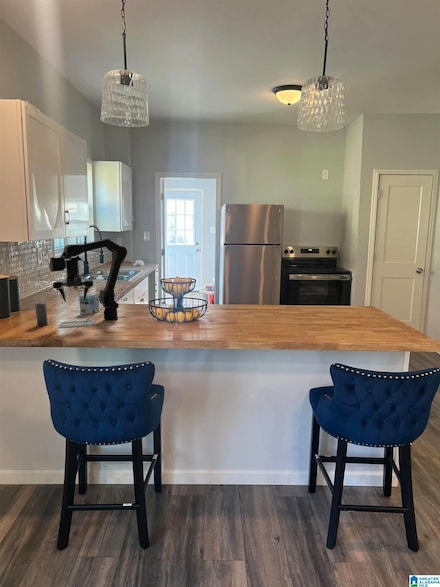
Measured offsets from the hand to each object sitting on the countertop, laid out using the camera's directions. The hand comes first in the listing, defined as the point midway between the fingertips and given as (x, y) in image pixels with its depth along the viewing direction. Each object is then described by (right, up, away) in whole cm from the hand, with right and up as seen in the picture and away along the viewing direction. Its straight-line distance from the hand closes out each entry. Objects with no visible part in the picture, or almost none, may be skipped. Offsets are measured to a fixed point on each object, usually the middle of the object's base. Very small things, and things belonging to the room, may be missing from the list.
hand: (74, 301), depth 208 cm
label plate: (0, -12, +2) cm, 12 cm away
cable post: (-17, -12, +3) cm, 21 cm away
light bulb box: (-2, -7, +31) cm, 32 cm away
